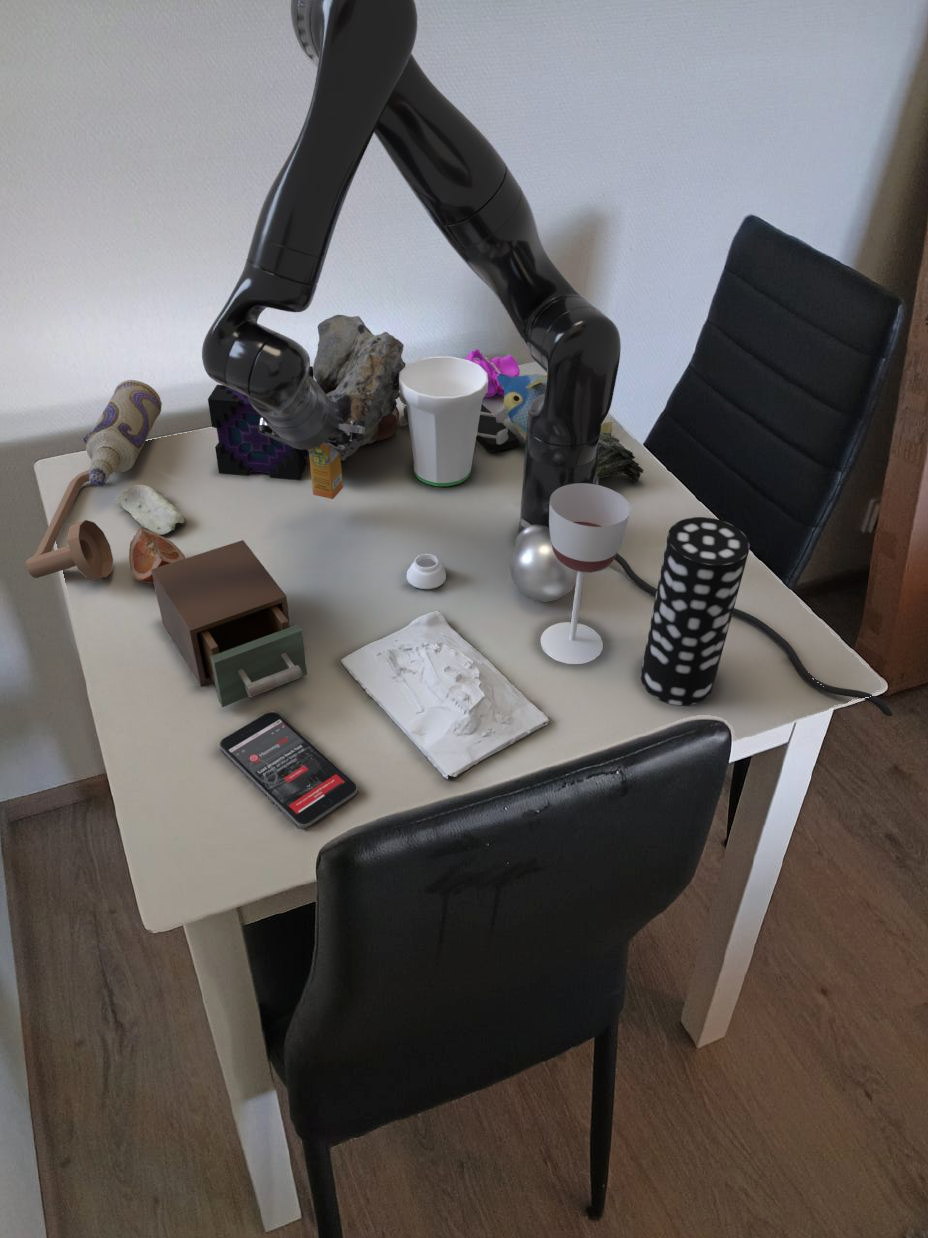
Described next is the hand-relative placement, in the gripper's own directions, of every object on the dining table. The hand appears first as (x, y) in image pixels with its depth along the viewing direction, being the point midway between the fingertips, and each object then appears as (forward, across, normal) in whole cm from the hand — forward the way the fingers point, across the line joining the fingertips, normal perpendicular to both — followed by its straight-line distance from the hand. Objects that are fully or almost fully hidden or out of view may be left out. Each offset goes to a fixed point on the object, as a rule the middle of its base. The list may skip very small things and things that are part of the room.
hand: (328, 445), depth 134 cm
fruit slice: (-6, +18, +20) cm, 28 cm away
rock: (+13, -6, -9) cm, 17 cm away
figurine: (+18, -22, -10) cm, 30 cm away
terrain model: (-16, -20, +31) cm, 40 cm away
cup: (+16, -14, -1) cm, 21 cm away
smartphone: (-26, -6, +41) cm, 49 cm away
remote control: (+25, -18, -11) cm, 33 cm away
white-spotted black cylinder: (-11, -47, +27) cm, 55 cm away
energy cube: (+16, +13, -1) cm, 20 cm away
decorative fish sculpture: (+24, -29, -20) cm, 43 cm away
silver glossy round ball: (-5, -34, +17) cm, 38 cm away
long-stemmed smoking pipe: (0, +30, +16) cm, 34 cm away
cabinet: (-13, +6, +27) cm, 31 cm away
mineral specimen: (+11, -38, -5) cm, 39 cm away
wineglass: (-8, -34, +24) cm, 43 cm away
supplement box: (+3, 0, +6) cm, 7 cm away
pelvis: (+29, -18, -24) cm, 42 cm away
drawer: (-17, +1, +31) cm, 35 cm away
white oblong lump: (+3, +24, +11) cm, 26 cm away
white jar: (-2, -15, +17) cm, 23 cm away
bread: (+23, +1, -9) cm, 25 cm away
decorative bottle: (+20, +31, -8) cm, 38 cm away
